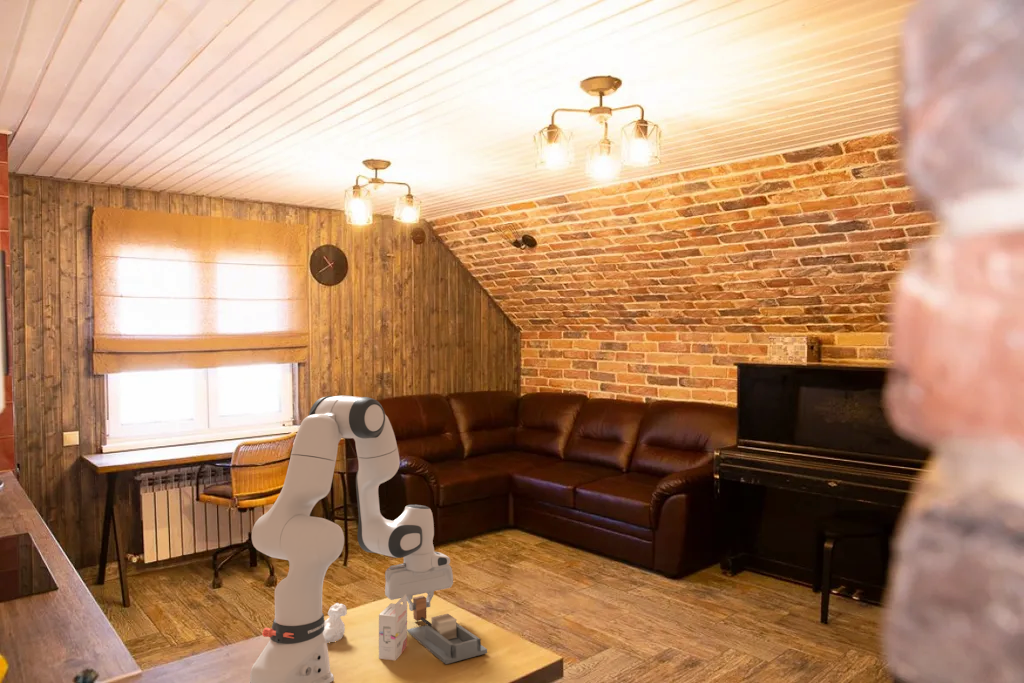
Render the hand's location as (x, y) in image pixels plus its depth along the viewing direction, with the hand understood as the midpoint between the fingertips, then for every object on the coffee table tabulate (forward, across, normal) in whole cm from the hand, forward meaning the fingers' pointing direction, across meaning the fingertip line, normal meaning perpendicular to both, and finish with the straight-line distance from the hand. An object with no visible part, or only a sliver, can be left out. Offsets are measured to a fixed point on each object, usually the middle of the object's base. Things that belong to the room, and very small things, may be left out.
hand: (419, 608), depth 214 cm
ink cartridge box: (+4, -15, -15) cm, 22 cm away
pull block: (+3, 0, -8) cm, 9 cm away
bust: (+5, -25, +2) cm, 26 cm away
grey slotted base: (+4, 0, -16) cm, 17 cm away
